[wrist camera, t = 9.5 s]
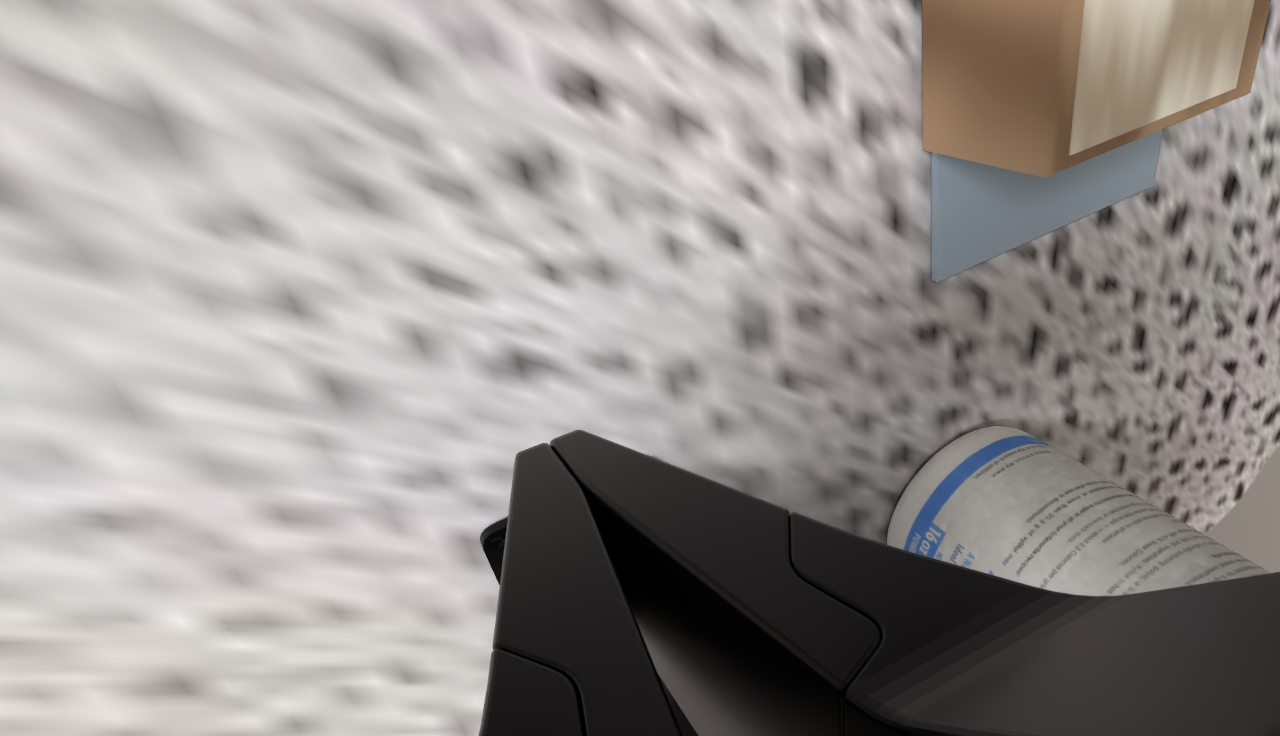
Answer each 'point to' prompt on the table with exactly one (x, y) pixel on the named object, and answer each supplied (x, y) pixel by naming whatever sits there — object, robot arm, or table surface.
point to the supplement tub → (1049, 522)
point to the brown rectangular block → (1076, 74)
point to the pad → (1024, 201)
